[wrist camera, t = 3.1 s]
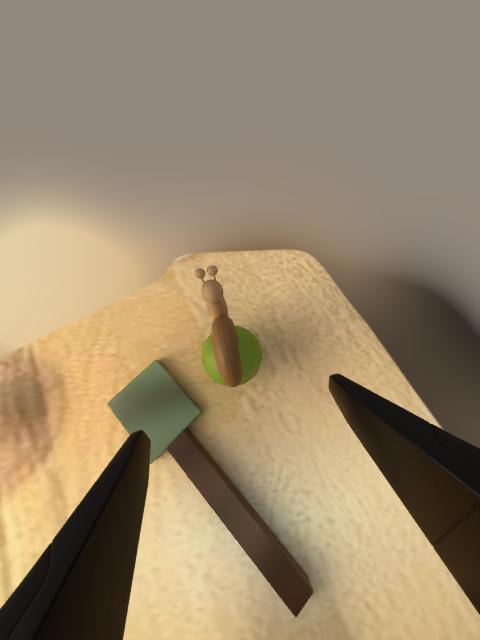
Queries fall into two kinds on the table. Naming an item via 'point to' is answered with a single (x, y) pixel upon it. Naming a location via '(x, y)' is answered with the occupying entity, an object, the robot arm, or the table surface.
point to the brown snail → (227, 340)
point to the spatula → (206, 475)
